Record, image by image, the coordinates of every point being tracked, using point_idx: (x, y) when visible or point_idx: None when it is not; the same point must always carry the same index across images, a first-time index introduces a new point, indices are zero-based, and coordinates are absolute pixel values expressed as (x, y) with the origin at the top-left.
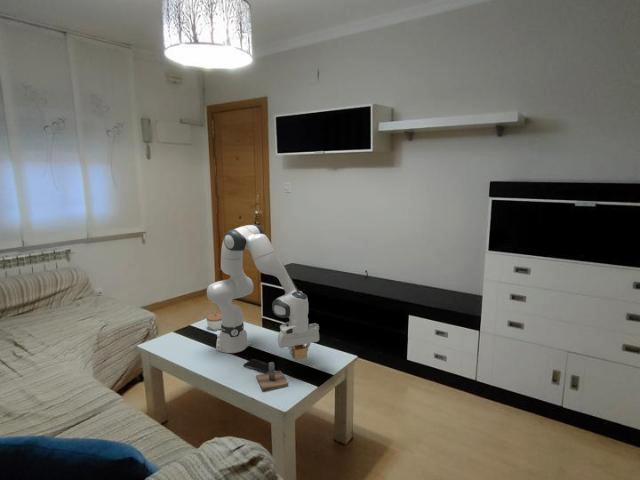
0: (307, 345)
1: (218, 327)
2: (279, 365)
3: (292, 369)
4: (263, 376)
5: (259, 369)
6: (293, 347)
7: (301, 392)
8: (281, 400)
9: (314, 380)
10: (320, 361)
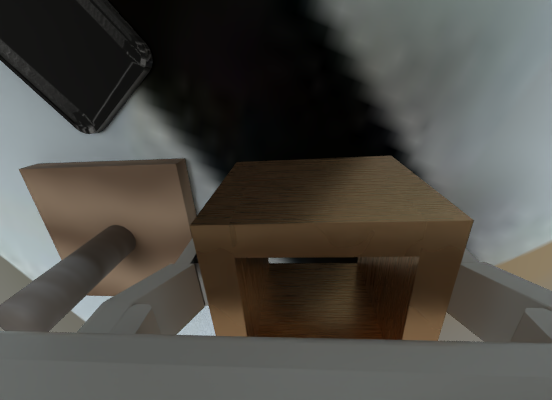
0: (495, 322)
1: None
2: (187, 38)
3: (270, 137)
4: (67, 196)
5: (32, 67)
6: (220, 318)
7: None
8: None
9: None
10: (527, 93)
